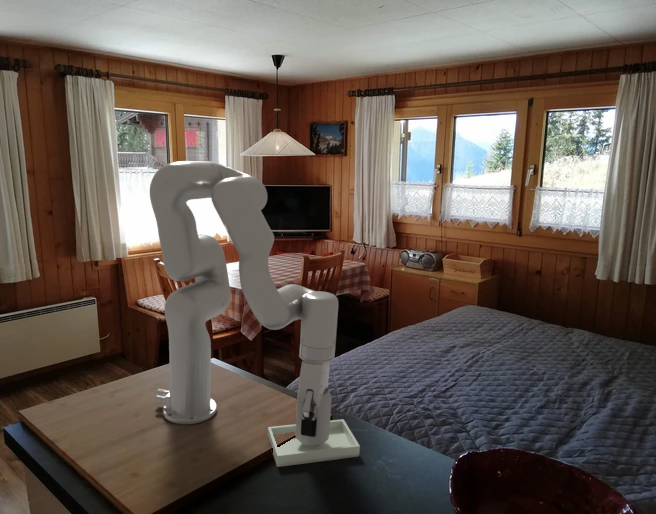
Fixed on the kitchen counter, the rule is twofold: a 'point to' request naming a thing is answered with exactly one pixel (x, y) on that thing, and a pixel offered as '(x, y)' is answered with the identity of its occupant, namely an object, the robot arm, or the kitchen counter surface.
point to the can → (322, 422)
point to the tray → (298, 453)
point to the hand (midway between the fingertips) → (312, 424)
